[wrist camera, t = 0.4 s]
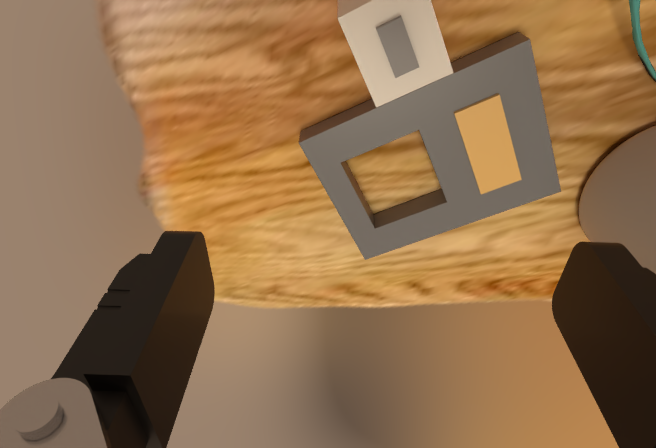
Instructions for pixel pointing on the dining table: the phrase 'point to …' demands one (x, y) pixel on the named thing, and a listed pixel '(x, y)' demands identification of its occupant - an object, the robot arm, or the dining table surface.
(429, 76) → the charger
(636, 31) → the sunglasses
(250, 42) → the dining table surface
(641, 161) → the cylinder vase
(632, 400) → the robot arm
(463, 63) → the plate
